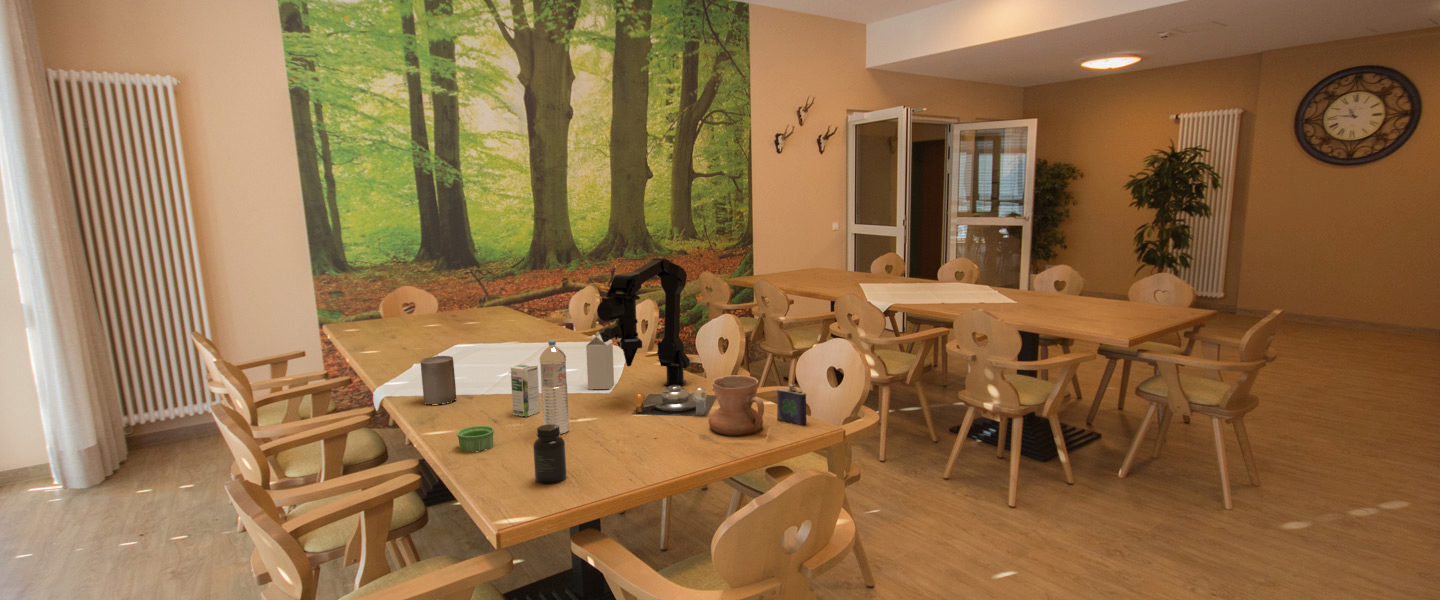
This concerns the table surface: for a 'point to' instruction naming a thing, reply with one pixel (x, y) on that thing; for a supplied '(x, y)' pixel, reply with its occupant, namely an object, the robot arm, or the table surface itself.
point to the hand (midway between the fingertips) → (628, 366)
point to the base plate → (709, 403)
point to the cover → (675, 395)
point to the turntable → (662, 404)
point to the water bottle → (554, 387)
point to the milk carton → (600, 363)
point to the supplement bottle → (549, 455)
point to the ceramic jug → (736, 406)
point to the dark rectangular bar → (700, 400)
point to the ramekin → (475, 438)
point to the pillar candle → (438, 379)
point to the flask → (791, 406)
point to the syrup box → (525, 389)
